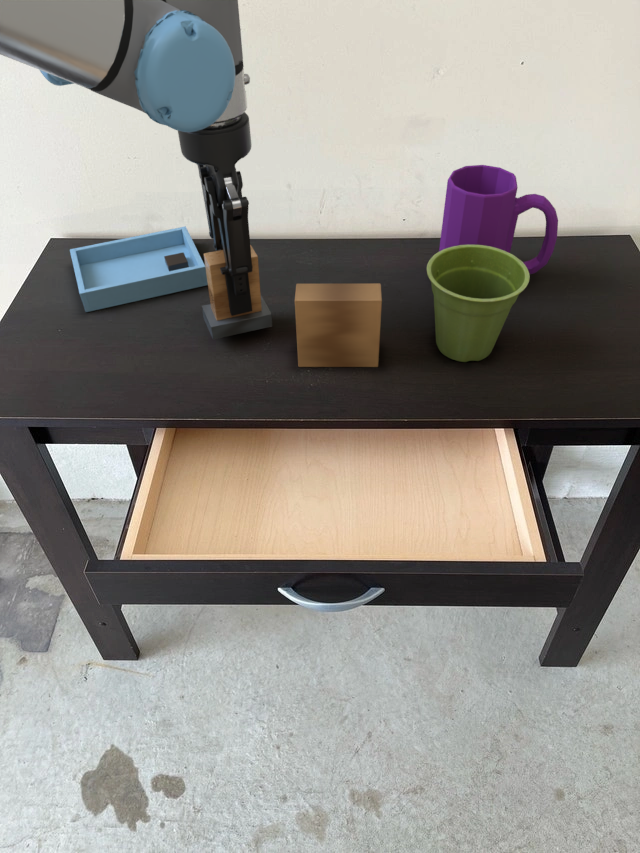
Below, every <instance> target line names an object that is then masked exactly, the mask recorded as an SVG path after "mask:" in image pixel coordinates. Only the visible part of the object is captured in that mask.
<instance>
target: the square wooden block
mask: <svg viewBox="0 0 640 853" xmlns="http://www.w3.org/2000/svg"><path fill="white" fill-rule="evenodd" d="M382 305H383V295H382V284H381V283H379V282H378V283H377V282H376V283H375V282H374V283H373V282H372V283H367V282H366V283H296V284H295V294H294V312H295V330H296V348H297V365H298V367H299V368H378V367H379V360H380V358H379V357H380V341H381V340H380V339H381V326H382V325H381V324H382V323H381V322H382Z"/></svg>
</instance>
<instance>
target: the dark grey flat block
mask: <svg viewBox="0 0 640 853" xmlns="http://www.w3.org/2000/svg"><path fill="white" fill-rule="evenodd" d="M164 259H165V263H166V265H167V267H168V270H169V271H174V270H178V269H183V268H187V267H189V265H188V261H187V259H186V257H185V254H184V252H183V253H178V254H173V255H168V256H164Z"/></svg>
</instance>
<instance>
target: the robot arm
mask: <svg viewBox="0 0 640 853" xmlns="http://www.w3.org/2000/svg"><path fill="white" fill-rule="evenodd" d="M242 42H243V41H242V33H241V20H240V8H239V0H0V55H1V56H2V57H6V58H9V59H11V60H13V61H16V62H18V63H21V64H24V65H26V66H29V67H31V68H34V69H36V70H38V71H40V73H41V74H42V76H43V77H44V79H45V80H47V81H48V82H49V83H50V84H52V85H54V86H57V87H63V86H68V85H77V86H80V87H83V88H85V89H87V90H90V91H91V92H93V93H96V94H98V95H101V96H103V97H105V98H107V99H110V100H113V101H116V102H118V103H120V104H124V105H125V106H127V107H131V108H133V109H136V110H138V111H140V112H142V113H145V114H146V115H147V116H148V117H149V118H148V119H150V120H152V121H153V122H155V123H157V124H159V125H161V126H166V127H168V128H170V129H171V130H174V131H177V135H178V140H179V146H180V152H181V154H182V157H184V159H186V160H187V161H189V162H190V163H193V164H196V165H197V169H198V176H199V179H200V184H201V188H202V189H201V191H202V195H203V203H204V208H205V214H206V220H207V226H208V231H209V232H208V236H209V237H210V238H211V240H213V244H212V245H213V248H214V249H215V251H219V250H223V252H224V257H225V263H226V266H225V267H221V268H220V270H221V273H222V275H223V274H225V279H226V286H227V293H228V300H229V307H230V313H231V315H232V316H234V315H238V314H242V313H246V312H250V311H252V303H251V295H250V286H249V277H248V273H249V272H252V271H253V270H252V269H253V266H252V259H251V247H250V245H251V238H250V237H251V236H250V226H249V225H250V224H249V205H250V202H249V201H250V200H249V199H248V197H247V196H243V192H242V189H243V187H244V182H243V178H242V172H241V171H240V170H237V168H236V164H237V163H238V162H239V161H241V160H242V159H244V158H246V157H247V156H248V155H249V154H250V152H251V150H252V136H251V135H252V134H251V126H250V117H249V115H248V114H247V113H246V111H247V109H248V100H247V91H246V86H247V85H249V84H250V83H251V76H250V75H249V74H248V73H245V70H244V67H245V66H244V54H243V44H242Z"/></svg>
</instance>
